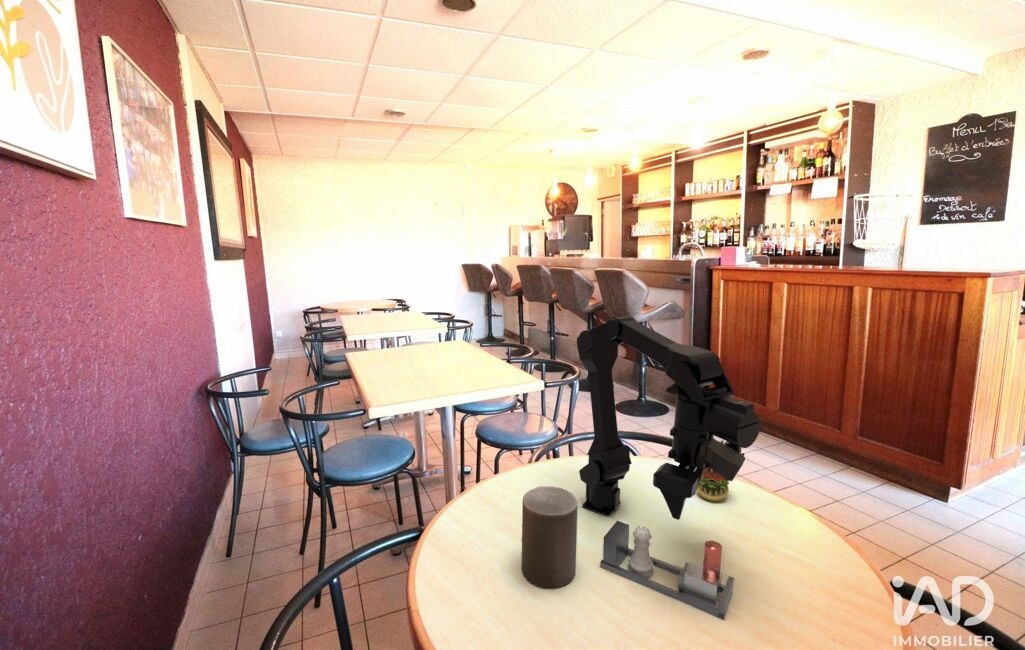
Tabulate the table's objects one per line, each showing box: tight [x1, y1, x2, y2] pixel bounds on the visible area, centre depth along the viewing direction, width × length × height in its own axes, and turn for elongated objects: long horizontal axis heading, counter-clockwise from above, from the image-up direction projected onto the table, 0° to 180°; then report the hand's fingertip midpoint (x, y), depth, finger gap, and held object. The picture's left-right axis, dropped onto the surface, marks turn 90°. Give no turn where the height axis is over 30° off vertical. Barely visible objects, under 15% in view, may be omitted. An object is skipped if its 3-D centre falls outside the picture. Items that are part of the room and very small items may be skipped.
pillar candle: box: [521, 485, 578, 590], centre depth 83 cm, size 10×10×15 cm
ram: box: [677, 540, 723, 607], centre depth 77 cm, size 6×4×10 cm
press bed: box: [599, 520, 735, 621], centre depth 81 cm, size 21×7×6 cm, turn 55°
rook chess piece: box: [627, 525, 655, 579], centre depth 83 cm, size 4×4×8 cm
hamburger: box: [696, 467, 730, 502], centre depth 106 cm, size 8×7×12 cm
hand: (684, 505), depth 83 cm, fingers open, 9 cm apart
